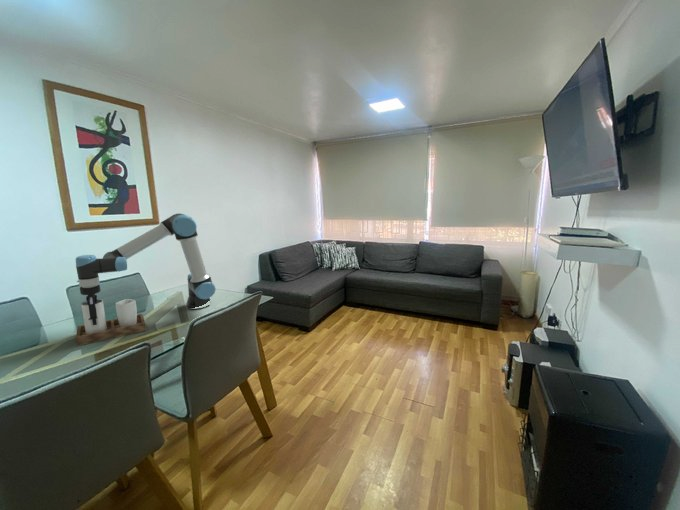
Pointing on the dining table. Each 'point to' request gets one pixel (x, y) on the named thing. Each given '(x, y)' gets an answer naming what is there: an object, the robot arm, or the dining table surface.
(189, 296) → the robot arm
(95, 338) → the tray
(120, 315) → the cup
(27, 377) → the dining table surface
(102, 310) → the cup
